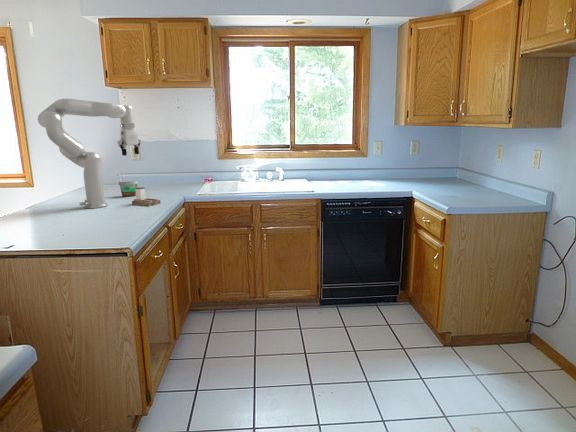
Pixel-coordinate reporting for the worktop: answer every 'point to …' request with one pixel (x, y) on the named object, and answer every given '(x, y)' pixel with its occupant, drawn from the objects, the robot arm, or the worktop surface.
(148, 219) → the worktop surface
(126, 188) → the food container
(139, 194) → the slider tab
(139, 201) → the rail board
